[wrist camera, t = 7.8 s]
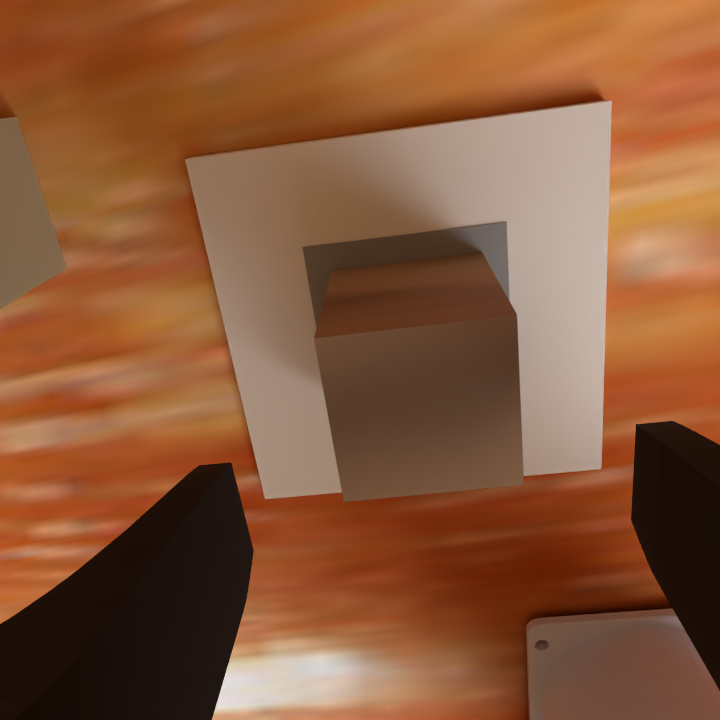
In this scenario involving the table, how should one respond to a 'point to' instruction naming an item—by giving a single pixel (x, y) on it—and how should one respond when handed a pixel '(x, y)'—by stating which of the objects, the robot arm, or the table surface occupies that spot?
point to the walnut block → (421, 378)
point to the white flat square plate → (407, 243)
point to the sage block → (23, 220)
